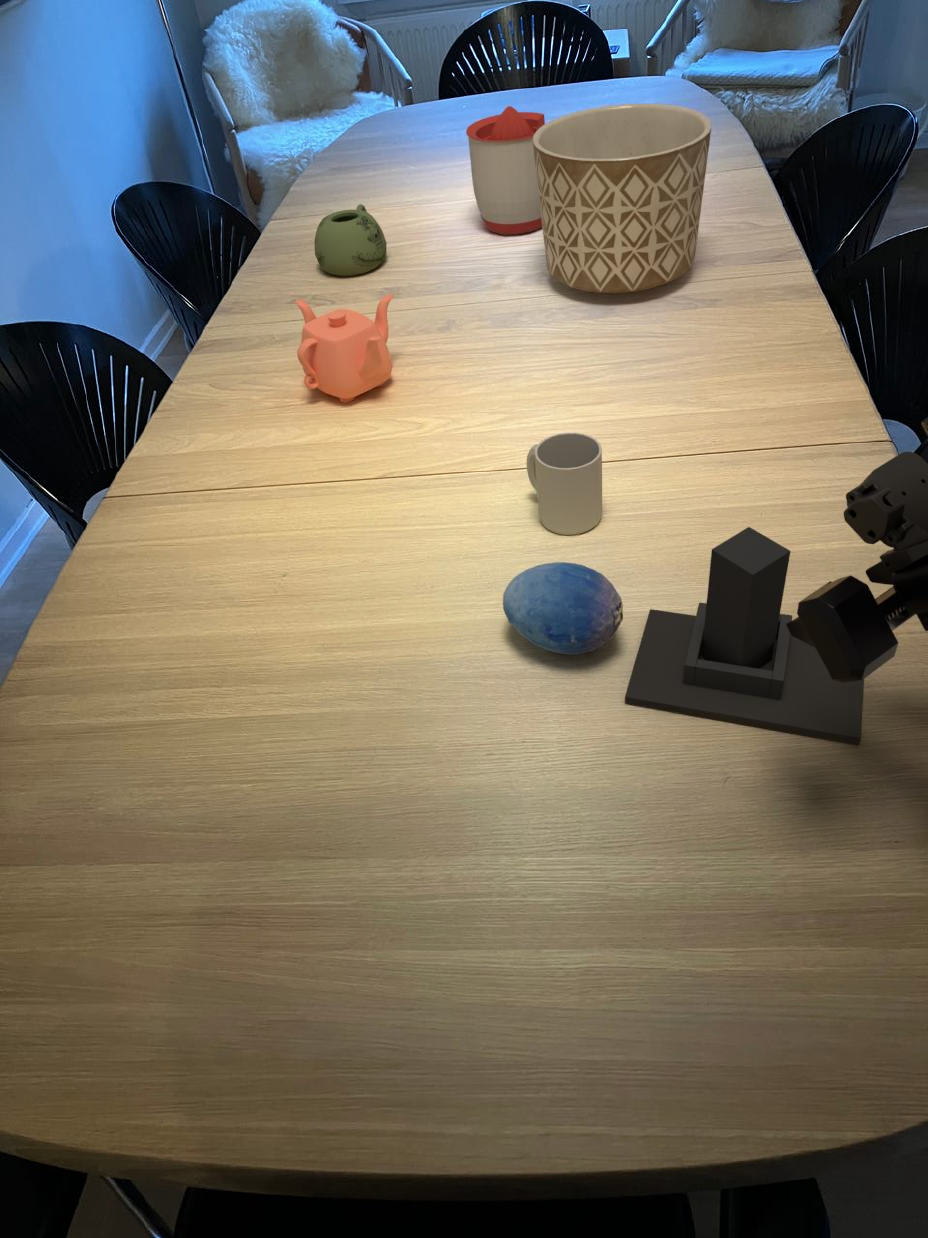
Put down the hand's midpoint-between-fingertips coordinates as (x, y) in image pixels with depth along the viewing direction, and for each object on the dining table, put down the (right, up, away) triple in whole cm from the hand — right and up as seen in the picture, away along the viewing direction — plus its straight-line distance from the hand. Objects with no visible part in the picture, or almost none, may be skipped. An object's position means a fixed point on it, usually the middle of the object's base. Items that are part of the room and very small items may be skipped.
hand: (830, 601), depth 72 cm
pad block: (-3, -5, +14) cm, 15 cm away
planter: (-3, +55, +79) cm, 97 cm away
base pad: (-3, -7, +13) cm, 15 cm away
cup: (-17, +11, +35) cm, 40 cm away
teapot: (-44, +33, +63) cm, 83 cm away
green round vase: (-48, +64, +96) cm, 124 cm away
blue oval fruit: (-17, -4, +19) cm, 26 cm away
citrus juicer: (-18, +72, +100) cm, 125 cm away
